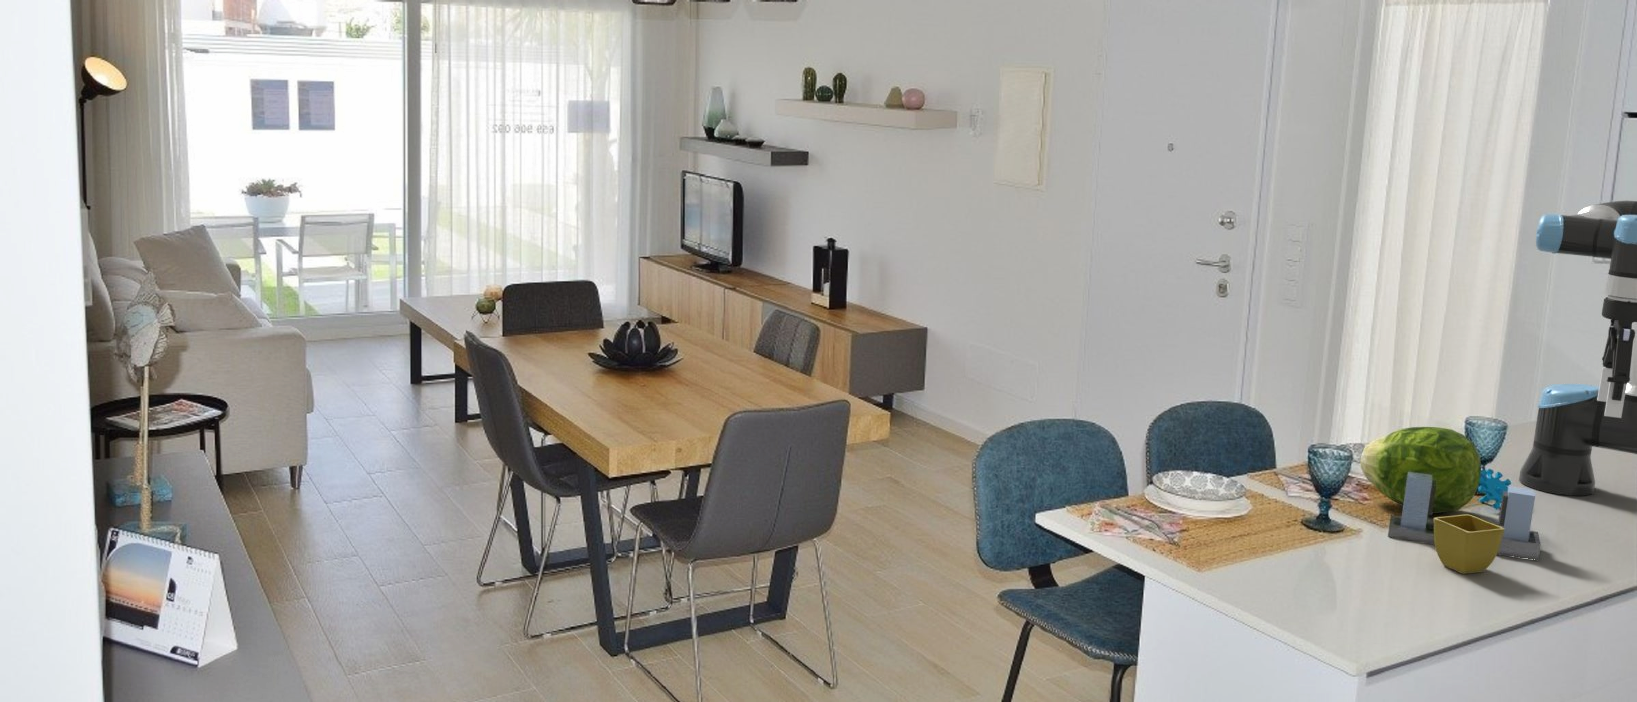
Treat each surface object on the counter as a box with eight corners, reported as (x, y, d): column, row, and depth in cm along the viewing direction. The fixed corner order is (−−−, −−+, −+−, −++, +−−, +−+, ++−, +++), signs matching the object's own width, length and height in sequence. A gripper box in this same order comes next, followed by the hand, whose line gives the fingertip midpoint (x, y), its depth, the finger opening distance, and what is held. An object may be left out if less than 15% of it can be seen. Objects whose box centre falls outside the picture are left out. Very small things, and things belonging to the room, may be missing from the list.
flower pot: (1426, 562, 262) (1432, 516, 260) (1462, 558, 265) (1468, 513, 263) (1462, 579, 254) (1469, 532, 252) (1499, 575, 257) (1506, 528, 255)
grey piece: (1389, 524, 283) (1397, 467, 281) (1535, 547, 273) (1545, 488, 271) (1387, 536, 276) (1395, 478, 273) (1538, 561, 265) (1547, 500, 263)
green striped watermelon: (1373, 486, 309) (1384, 406, 305) (1485, 512, 294) (1498, 428, 290) (1341, 504, 295) (1352, 421, 291) (1457, 532, 280) (1470, 445, 276)
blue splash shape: (1491, 507, 292) (1474, 465, 297) (1471, 520, 296) (1454, 478, 302) (1531, 511, 296) (1513, 469, 301) (1511, 523, 300) (1494, 482, 306)
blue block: (1496, 534, 274) (1503, 485, 272) (1526, 539, 272) (1534, 489, 270) (1496, 541, 270) (1504, 491, 268) (1527, 546, 268) (1535, 496, 266)
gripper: (1659, 310, 249) (1639, 426, 253) (1641, 291, 271) (1623, 397, 276) (1611, 306, 252) (1592, 420, 256) (1598, 287, 274) (1580, 392, 278)
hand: (1608, 409), depth 266 cm, fingers open, 13 cm apart
